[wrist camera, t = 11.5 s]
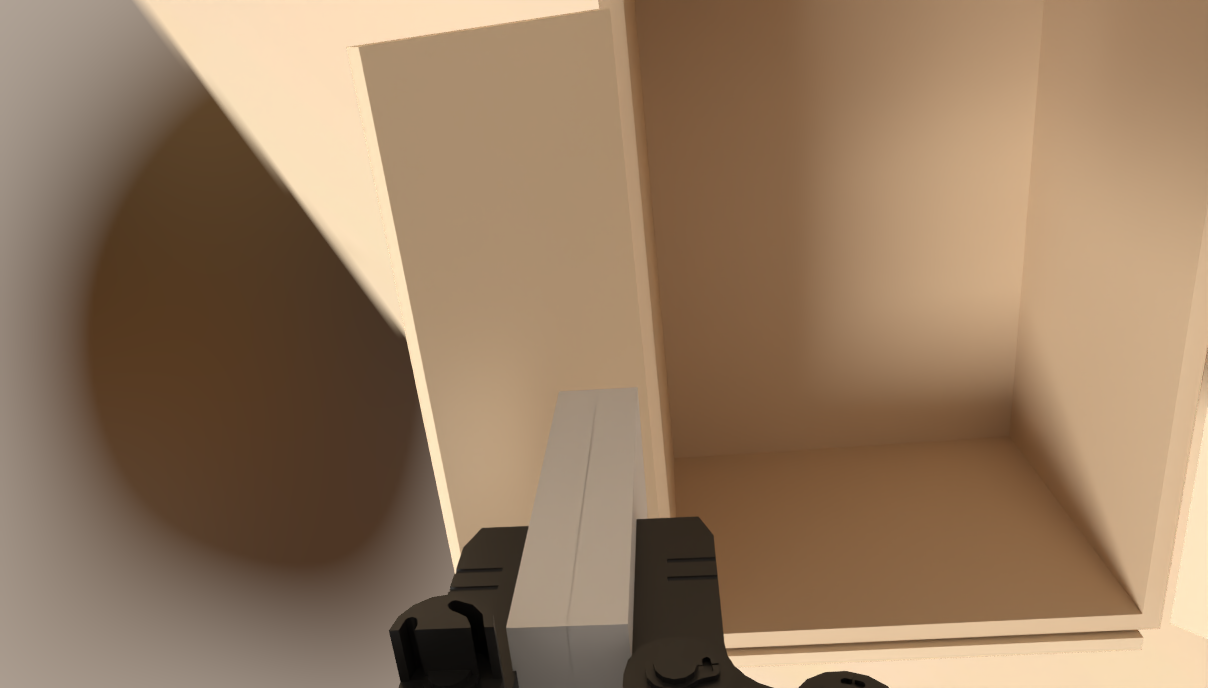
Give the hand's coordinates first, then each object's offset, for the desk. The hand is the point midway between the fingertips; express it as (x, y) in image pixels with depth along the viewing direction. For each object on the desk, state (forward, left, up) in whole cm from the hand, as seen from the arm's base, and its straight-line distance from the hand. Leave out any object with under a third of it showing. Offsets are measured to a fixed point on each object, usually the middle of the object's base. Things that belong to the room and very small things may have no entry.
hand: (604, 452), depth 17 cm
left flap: (0, -1, -2) cm, 2 cm away
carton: (0, +7, -14) cm, 16 cm away
